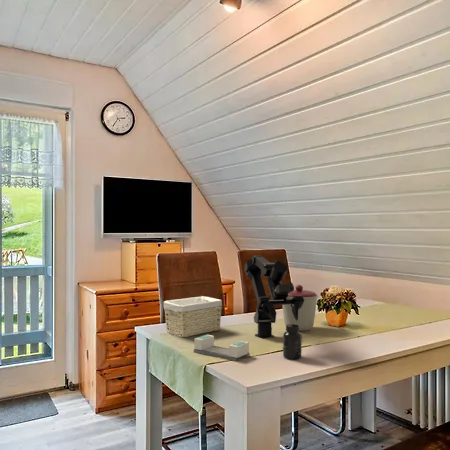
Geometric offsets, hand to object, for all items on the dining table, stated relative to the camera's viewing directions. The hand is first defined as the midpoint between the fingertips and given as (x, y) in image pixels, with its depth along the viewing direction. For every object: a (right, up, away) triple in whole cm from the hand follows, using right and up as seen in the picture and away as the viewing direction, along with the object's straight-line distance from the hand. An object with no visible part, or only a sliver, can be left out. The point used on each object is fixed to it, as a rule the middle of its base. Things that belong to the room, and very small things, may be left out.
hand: (286, 320), depth 168 cm
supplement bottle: (+1, -13, -6) cm, 14 cm away
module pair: (-25, -11, -2) cm, 28 cm away
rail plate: (-25, -12, -2) cm, 28 cm away
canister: (+12, -13, +40) cm, 44 cm away
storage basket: (-39, -13, +34) cm, 53 cm away
